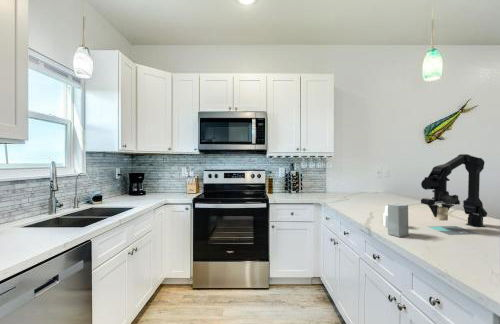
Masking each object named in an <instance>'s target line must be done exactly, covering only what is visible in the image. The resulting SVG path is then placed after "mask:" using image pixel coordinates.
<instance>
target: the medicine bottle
mask: <svg viewBox="0 0 500 324" xmlns="http://www.w3.org/2000/svg"><path fill="white" fill-rule="evenodd" d="M382 216H383V219H382V221H383V222H382V224H383V226H384V227H385V228H387V229H388V205H385V207H384V212H383V215H382Z"/></svg>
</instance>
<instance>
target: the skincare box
mask: <svg viewBox="0 0 500 324" xmlns="http://www.w3.org/2000/svg"><path fill="white" fill-rule="evenodd" d="M387 206H388V228H387V234H388V235H390V236H394V237H397V238H401V237H405V236H409V204H401V203H392V204H391V203H389V204H387Z"/></svg>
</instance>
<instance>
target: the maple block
mask: <svg viewBox="0 0 500 324" xmlns="http://www.w3.org/2000/svg"><path fill="white" fill-rule="evenodd" d="M431 218H432V219H433V220H436V221H439V222H440V221H448V220H449V210H448V208H447V207H443V206H442V205H439V206H438V207H437V216H436V217H434V215H433V213H432V217H431Z"/></svg>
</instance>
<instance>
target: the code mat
mask: <svg viewBox="0 0 500 324" xmlns="http://www.w3.org/2000/svg"><path fill="white" fill-rule="evenodd" d="M428 228H429V229H432V230H435V231H437V232H440V233H444V234H446V235H448V236H465V235H467V236H469V235H473V236H474V235H481V233H479V232H476V231H473V230H469V229H466V228H463V227H461V226H457V225H443V226H441V225H440V226H439V225H438V226H437V225H436V226H428Z"/></svg>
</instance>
